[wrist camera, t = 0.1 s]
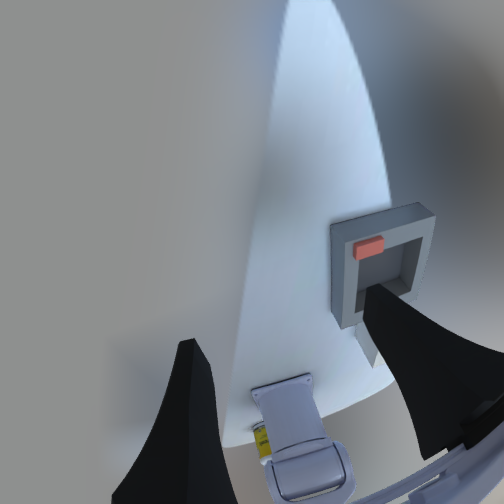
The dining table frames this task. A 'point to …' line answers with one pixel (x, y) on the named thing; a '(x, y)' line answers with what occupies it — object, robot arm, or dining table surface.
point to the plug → (368, 346)
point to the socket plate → (378, 258)
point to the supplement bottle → (262, 443)
